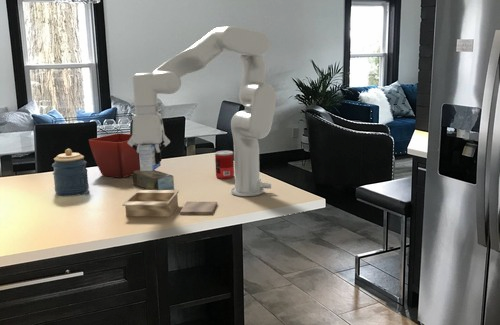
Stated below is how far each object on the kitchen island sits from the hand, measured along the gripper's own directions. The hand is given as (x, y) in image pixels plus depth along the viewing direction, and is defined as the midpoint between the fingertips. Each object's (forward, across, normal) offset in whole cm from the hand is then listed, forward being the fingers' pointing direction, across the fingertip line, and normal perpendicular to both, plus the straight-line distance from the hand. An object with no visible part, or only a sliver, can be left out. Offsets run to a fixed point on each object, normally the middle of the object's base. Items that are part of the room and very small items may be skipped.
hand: (150, 162), depth 185 cm
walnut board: (+17, -16, -2) cm, 23 cm away
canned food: (+18, -19, -49) cm, 55 cm away
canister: (+17, +39, -24) cm, 49 cm away
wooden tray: (+17, 0, 0) cm, 17 cm away
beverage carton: (+18, +8, -32) cm, 38 cm away
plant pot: (+17, +29, -55) cm, 65 cm away
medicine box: (+2, 0, 0) cm, 2 cm away
